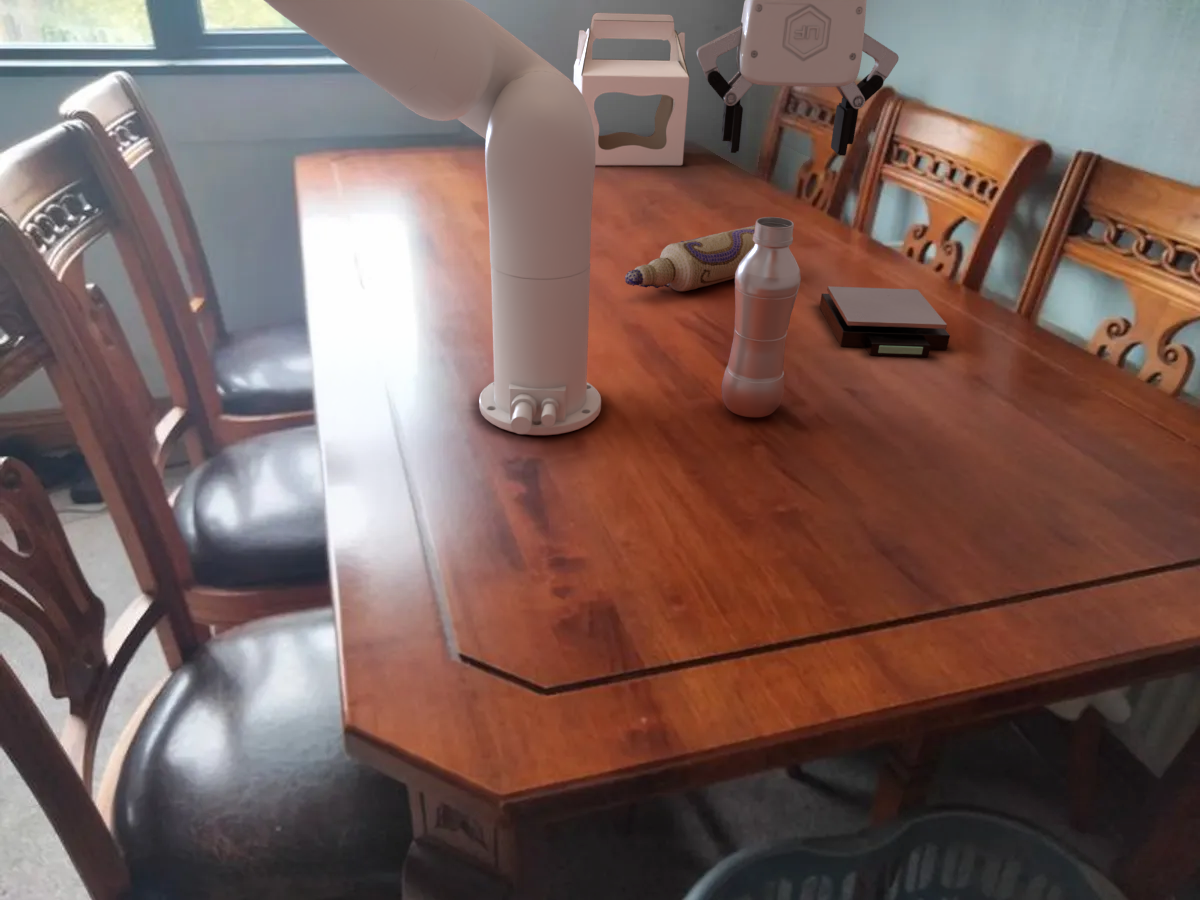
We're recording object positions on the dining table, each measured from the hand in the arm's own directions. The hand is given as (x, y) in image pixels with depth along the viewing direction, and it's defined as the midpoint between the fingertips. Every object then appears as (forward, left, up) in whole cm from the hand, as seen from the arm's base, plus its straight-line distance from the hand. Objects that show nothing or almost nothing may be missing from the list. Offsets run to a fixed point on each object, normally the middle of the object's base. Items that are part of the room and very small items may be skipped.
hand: (785, 150), depth 83 cm
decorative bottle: (+39, +2, -27) cm, 47 cm away
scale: (+22, -20, -27) cm, 40 cm away
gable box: (+114, +11, -27) cm, 117 cm away
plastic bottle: (0, 0, -27) cm, 27 cm away
